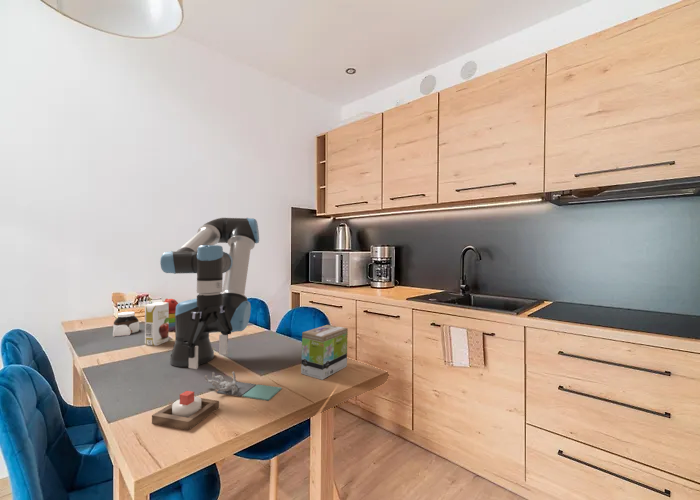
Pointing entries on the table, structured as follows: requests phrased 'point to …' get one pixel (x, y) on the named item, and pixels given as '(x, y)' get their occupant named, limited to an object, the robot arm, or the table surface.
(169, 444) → the table surface
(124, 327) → the spread jar
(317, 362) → the tea box
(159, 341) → the juice carton
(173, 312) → the stacking bear
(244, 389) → the dark grey square tile
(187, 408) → the white and red button
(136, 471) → the table surface
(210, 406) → the frame
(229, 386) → the soldier figure
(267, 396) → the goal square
